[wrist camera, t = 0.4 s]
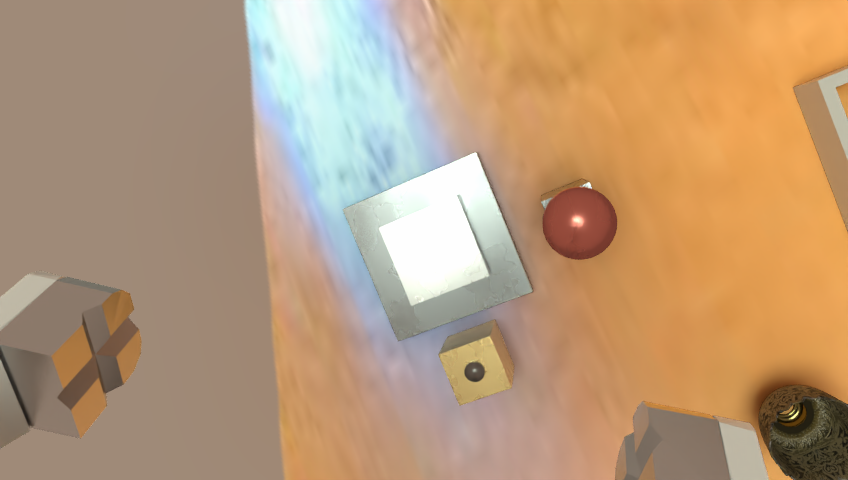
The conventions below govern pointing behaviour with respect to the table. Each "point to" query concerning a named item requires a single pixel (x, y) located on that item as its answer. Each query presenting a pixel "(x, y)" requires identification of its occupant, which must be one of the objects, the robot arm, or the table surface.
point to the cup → (806, 433)
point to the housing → (477, 362)
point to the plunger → (579, 223)
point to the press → (440, 247)
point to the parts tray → (828, 130)
